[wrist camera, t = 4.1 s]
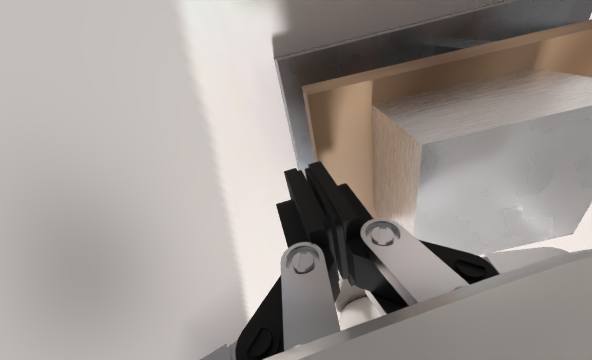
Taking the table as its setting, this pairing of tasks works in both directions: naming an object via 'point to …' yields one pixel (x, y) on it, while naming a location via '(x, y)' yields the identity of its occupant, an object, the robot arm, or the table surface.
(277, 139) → the table surface
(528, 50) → the balance beam
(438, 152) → the block
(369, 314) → the plastic bottle
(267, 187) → the table surface
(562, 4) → the beam stand
